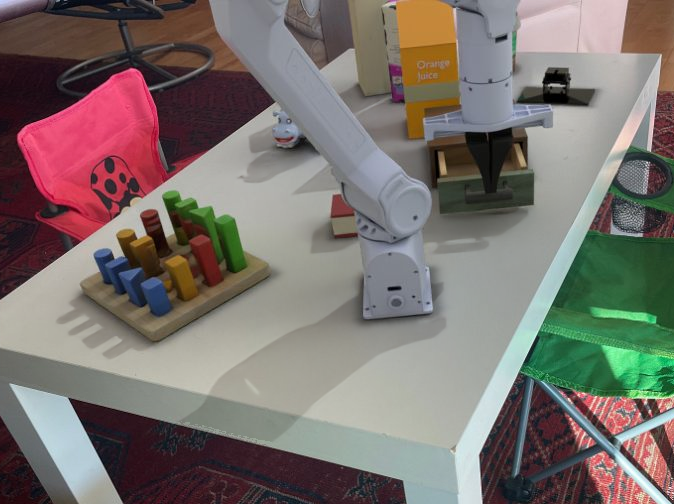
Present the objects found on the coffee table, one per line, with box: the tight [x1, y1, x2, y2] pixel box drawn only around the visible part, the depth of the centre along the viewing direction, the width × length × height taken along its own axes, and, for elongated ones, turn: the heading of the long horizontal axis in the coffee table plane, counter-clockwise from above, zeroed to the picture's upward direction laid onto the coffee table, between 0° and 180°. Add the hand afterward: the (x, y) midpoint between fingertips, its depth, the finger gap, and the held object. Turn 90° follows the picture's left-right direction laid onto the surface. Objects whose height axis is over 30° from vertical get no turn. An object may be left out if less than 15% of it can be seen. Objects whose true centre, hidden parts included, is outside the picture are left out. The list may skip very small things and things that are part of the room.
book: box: [330, 193, 358, 239], centre depth 101 cm, size 6×4×3 cm
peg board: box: [79, 189, 271, 342], centre depth 92 cm, size 18×17×9 cm
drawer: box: [437, 142, 535, 215], centre depth 103 cm, size 17×13×5 cm
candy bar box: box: [381, 0, 407, 103], centre depth 131 cm, size 11×5×16 cm, turn 73°
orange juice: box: [396, 0, 461, 140], centre depth 119 cm, size 8×9×20 cm
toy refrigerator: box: [347, 0, 391, 97], centre depth 136 cm, size 8×7×21 cm
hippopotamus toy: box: [271, 108, 317, 151], centre depth 122 cm, size 11×15×10 cm
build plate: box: [516, 66, 596, 107], centre depth 130 cm, size 12×7×5 cm, turn 70°
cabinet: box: [424, 98, 529, 189], centre depth 112 cm, size 14×14×6 cm
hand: (489, 189), depth 90 cm, fingers closed
